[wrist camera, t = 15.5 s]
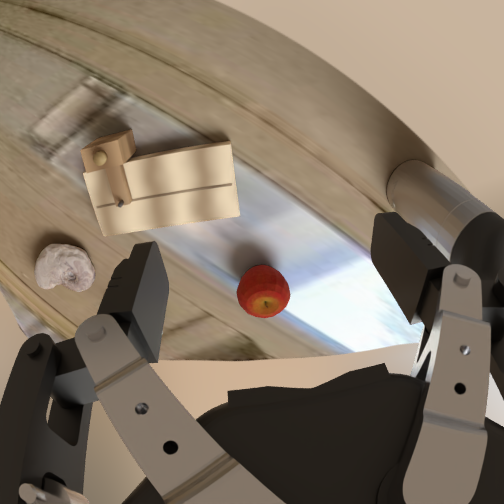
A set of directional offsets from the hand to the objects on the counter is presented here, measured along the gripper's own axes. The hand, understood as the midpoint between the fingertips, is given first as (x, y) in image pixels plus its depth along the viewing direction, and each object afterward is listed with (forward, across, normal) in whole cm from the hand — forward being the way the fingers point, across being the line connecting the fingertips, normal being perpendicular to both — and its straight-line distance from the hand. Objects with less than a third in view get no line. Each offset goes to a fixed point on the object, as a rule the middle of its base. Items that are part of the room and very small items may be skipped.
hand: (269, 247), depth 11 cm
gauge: (+30, +16, +4) cm, 34 cm away
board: (+30, +11, +8) cm, 33 cm away
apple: (+30, -1, +25) cm, 39 cm away
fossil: (+31, +31, +18) cm, 47 cm away
